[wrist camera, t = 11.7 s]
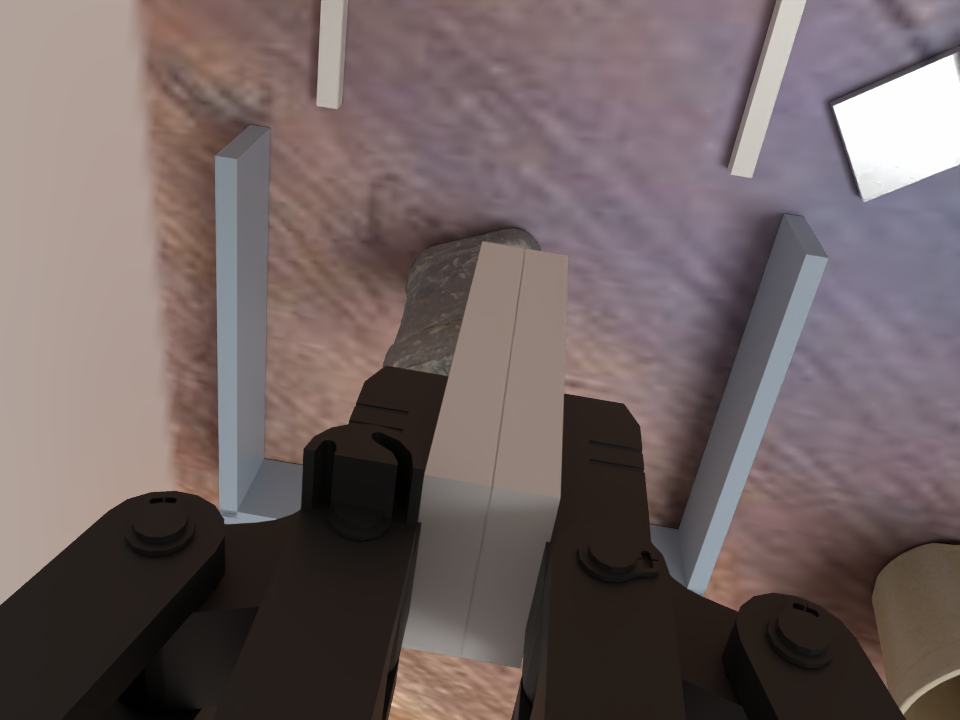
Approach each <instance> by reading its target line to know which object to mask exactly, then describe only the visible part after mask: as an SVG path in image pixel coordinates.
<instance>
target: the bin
mask: <svg viewBox="0 0 960 720" xmlns="http://www.w3.org/2000/svg"><path fill="white" fill-rule="evenodd" d="M269 168H270V128H268V127H262V126H256V125H249V126H248V127H247V128H246V129H245V130H244V131H242V132H241V133H240V134H239V135H238V136H237V137H235V138H234V139H233V140H232V141H231V142H230V143H229V144H227V145H226V146H225V147H224V148H223V149H222V150H221V151H219V152H218V153H217V154H216V155H215V209H216V283H217V357H218V432H219V506H220V514H221V515H222V517H223V518H224V523H226V524H239V523H255V522H263V521H270V520H276V519H279V518H282V517H285V516H288V515H292V514H293V513H295V512H297V511H299V510H300V509H301V495H302V474H303V465H298V464H292V463H286V462H280V461H274V460H268V459H264V432H265V379H266V327H267V274H268V221H269ZM828 259H829V258H828V256H827V254H826V253H825V251H824V249H823V248H822V246H821V244H820V243H819V241H818V239H817V238H816V236H815V234H814V233H813V231H812V229H811V228H810V226H809V224H808V223H807V221H806V219H805V218H804V217H802V216H796V215H790V214H783V217H782V220H781V223H780V226H779V229H778V232H777V235H776V238H775V241H774V244H773V247H772V250H771V253H770V256H769V259H768V262H767V265H766V268H765V271H764V274H763V277H762V280H761V283H760V286H759V289H758V292H757V295H756V298H755V301H754V304H753V307H752V310H751V313H750V316H749V319H748V322H747V325H746V328H745V331H744V334H743V337H742V340H741V343H740V346H739V349H738V352H737V355H736V358H735V361H734V364H733V367H732V370H731V373H730V376H729V379H728V382H727V385H726V388H725V391H724V394H723V397H722V400H721V403H720V406H719V409H718V412H717V415H716V418H715V421H714V424H713V427H712V430H711V433H710V436H709V439H708V442H707V445H706V448H705V451H704V454H703V457H702V460H701V463H700V466H699V469H698V472H697V475H696V478H695V481H694V484H693V487H692V490H691V493H690V496H689V499H688V502H687V505H686V508H685V511H684V514H683V517H682V520H681V523H680V526H679V529H673V528H667V527H661V526H655V525H650V533H651V542H652V543H653V545H654V546H655V547H656V548H657V549H658V550H659V551H660V552H661V553H662V554H663V556H664V559H665V562H666V564H667V567H668V570H669V574H670V575H671V576H672V577H673V578H674V579H675V580H677V581H678V582H679V583H681V584H682V585H683V586H685V587H686V588H687V589H689V590H691V591H693V592H695V593H697V594H699V595H701V596H702V597H703V596H704V593H705V590H706V588H707V585H708V582H709V579H710V577H711V574H712V571H713V569H714V566H715V563H716V561H717V558H718V555H719V553H720V550H721V547H722V544H723V542H724V539H725V536H726V534H727V531H728V528H729V526H730V523H731V520H732V518H733V515H734V512H735V509H736V507H737V504H738V501H739V499H740V496H741V493H742V491H743V488H744V485H745V482H746V480H747V477H748V474H749V472H750V469H751V466H752V464H753V461H754V458H755V456H756V453H757V450H758V447H759V445H760V442H761V439H762V437H763V434H764V431H765V429H766V426H767V423H768V420H769V418H770V415H771V412H772V410H773V407H774V404H775V402H776V399H777V396H778V394H779V391H780V388H781V385H782V383H783V380H784V377H785V375H786V372H787V369H788V367H789V364H790V361H791V358H792V356H793V353H794V350H795V348H796V345H797V342H798V340H799V337H800V334H801V332H802V329H803V326H804V323H805V321H806V318H807V315H808V313H809V310H810V307H811V305H812V302H813V299H814V297H815V294H816V291H817V288H818V286H819V283H820V280H821V278H822V275H823V272H824V270H825V267H826V264H827V261H828Z"/></svg>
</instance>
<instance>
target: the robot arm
mask: <svg viewBox="0 0 960 720" xmlns="http://www.w3.org/2000/svg"><path fill="white" fill-rule="evenodd" d="M567 286H568V256H566V255H561V254H555V253H549V252H543V251H537V250H531V249H525V248H519V247H513V246H507V245H501V244H496V243H490V242H484V241H482V245H481V249H480V253H479V257H478V261H477V265H476V269H475V273H474V277H473V281H472V285H471V289H470V293H469V297H468V301H467V305H466V309H465V313H464V317H463V321H462V325H461V329H460V333H459V337H458V341H457V345H456V349H455V353H454V357H453V361H452V365H451V369H450V373H449V376H444V375H439V374H433V373H427V372H421V371H415V370H410V369H404V368H398V367H392V366H385V367H384V368H382V369H381V370H380V371H378V372H377V373H376V374H374V375H373V376H372V377H370V378H369V379H368V380H366V381H365V382H364V385H363V387H362V390H361V392H360V395H359V397H358V400H357V402H356V407H354V410H353V412H352V415H351V417H350V420H349V424H348V425H343V426H338V427H332V428H330V429H328V430H326V431H324V432H322V433H320V434H318V435H316V436H314V437H313V439H312V440H311V441H310V442H309V443H308V445H307V446H306V447H305V448H304V453H303V474H302V495H301V509H300V510H299V511H297V512H295V513H293V514H292V515H288V516H285V517H282V518H279V519H276V520H270V521H263V522H255V523H239V524H224V518H223V517H222V515H221V514H220V512H219V511H218V509H217V508H216V506H215V505H213V504H212V503H210V502H208V501H206V500H205V499H203V498H201V497H199V496H198V495H193V494H188V493H183V492H178V491H166V492H151V493H147V494H144V495H140V496H137V497H133V498H130V499H127V500H125V501H124V502H122V503H121V504H119V505H118V506H116V507H114V508H113V509H111V510H109V511H108V512H107V513H106V514H104V515H103V516H102V517H101V518H100V519H99V520H98V521H96V522H95V523H94V524H93V525H92V526H91V527H90V528H88V529H87V530H86V531H85V532H84V533H83V534H81V535H80V536H79V537H78V538H77V539H76V540H75V541H73V542H72V543H71V544H70V545H69V546H68V547H67V548H66V549H65V550H63V551H62V552H61V553H60V554H59V555H57V556H56V557H55V558H54V559H53V560H52V561H51V562H49V563H48V564H47V565H46V566H45V567H44V568H43V569H41V570H40V571H39V572H38V573H37V574H36V575H35V576H33V577H32V578H31V579H30V580H29V581H28V582H26V583H25V584H24V585H23V586H22V587H21V588H20V589H18V590H17V591H16V592H15V593H14V594H13V595H12V596H10V597H9V598H8V599H7V600H6V601H5V602H4V603H2V604H1V605H0V720H388V717H389V712H390V708H391V703H392V699H393V694H394V689H395V685H396V678H397V670H398V663H399V656H400V651H401V647H403V648H408V649H414V650H420V651H425V652H431V653H437V654H442V655H448V656H454V657H459V658H465V659H471V660H476V661H482V662H488V663H493V664H499V665H505V666H510V667H516V668H520V666H521V662H522V658H523V670H522V678H521V682H520V686H519V690H518V694H517V698H516V703H515V707H514V711H513V715H512V719H511V720H906V718H905V717H904V715H903V713H902V712H901V710H900V709H899V707H898V705H897V704H896V702H895V701H894V699H893V697H892V696H891V694H890V693H889V691H888V689H887V688H886V686H885V684H884V683H883V681H882V680H881V678H880V676H879V675H878V673H877V672H876V670H875V668H874V667H873V665H872V664H871V662H870V660H869V659H868V657H867V655H866V654H865V652H864V651H863V649H862V647H861V646H860V644H859V643H858V641H857V639H856V638H855V637H854V636H853V635H852V633H851V632H850V631H849V630H848V629H847V628H846V626H845V625H844V624H843V623H842V622H841V621H840V620H839V619H838V618H836V617H835V616H833V615H832V614H830V613H829V612H828V611H826V610H825V609H823V608H822V607H821V606H819V605H816V604H814V603H812V602H809V601H807V600H804V599H802V598H799V597H797V596H792V595H785V594H778V593H769V594H764V595H758V596H754V597H752V598H751V599H750V600H748V601H747V602H746V603H744V604H743V605H742V606H741V607H740V609H739V612H737V611H735V610H733V609H730V608H728V607H725V606H723V605H721V604H718V603H716V602H714V601H711V600H709V599H707V598H704V597H702V596H701V595H699V594H697V593H695V592H693V591H691V590H689V589H687V588H686V587H685V586H683V585H682V584H681V583H679V582H678V581H677V580H675V579H674V578H673V577H672V576H671V575H670V574H669V570H668V567H667V564H666V562H665V559H664V556H663V554H662V553H661V552H660V551H659V550H658V549H657V548H656V547H655V546H654V545H653V543H652V542H651V533H650V523H649V512H648V502H647V492H646V482H645V473H643V472H644V462H643V454H642V441H641V431H640V426H639V424H638V423H637V421H636V420H635V419H634V417H633V416H632V414H631V413H630V412H629V410H628V409H627V407H626V406H625V405H624V404H622V403H616V402H610V401H604V400H599V399H593V398H587V397H581V396H575V395H569V394H564V376H565V346H566V316H567ZM523 653H524V657H523Z"/></svg>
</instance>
